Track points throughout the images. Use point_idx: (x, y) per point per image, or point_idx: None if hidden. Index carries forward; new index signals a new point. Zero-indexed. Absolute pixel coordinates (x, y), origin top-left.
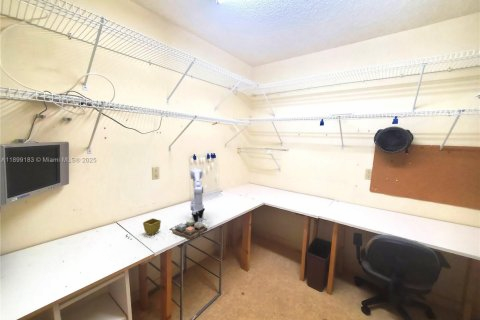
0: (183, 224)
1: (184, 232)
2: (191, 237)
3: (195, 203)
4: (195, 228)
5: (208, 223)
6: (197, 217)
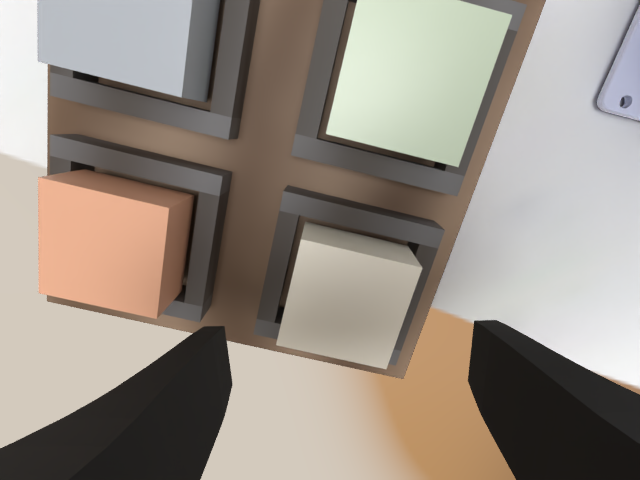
0: (179, 3)
1: (56, 163)
2: (63, 300)
3: None
4: (268, 262)
5: (605, 291)
6: None
